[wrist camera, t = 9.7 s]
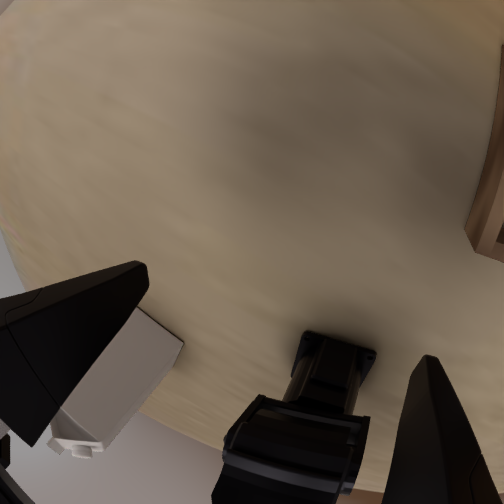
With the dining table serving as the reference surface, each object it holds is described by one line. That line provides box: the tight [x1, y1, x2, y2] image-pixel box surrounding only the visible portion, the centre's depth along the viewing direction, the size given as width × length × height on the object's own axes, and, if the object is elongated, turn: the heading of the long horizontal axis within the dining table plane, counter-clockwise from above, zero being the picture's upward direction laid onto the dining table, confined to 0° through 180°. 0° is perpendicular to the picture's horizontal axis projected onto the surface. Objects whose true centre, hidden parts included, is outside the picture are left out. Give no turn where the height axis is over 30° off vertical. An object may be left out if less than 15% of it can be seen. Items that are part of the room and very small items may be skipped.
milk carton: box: [47, 307, 183, 458], centre depth 27 cm, size 7×7×19 cm
